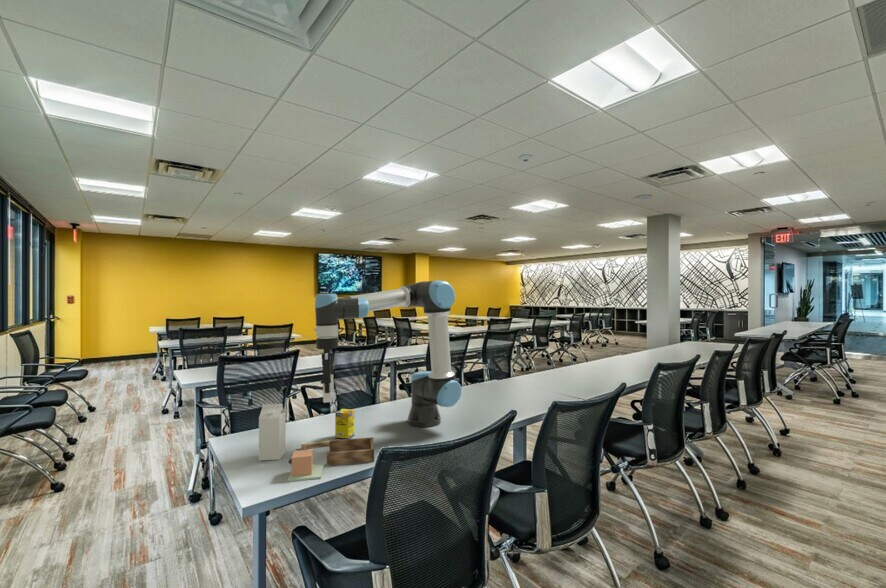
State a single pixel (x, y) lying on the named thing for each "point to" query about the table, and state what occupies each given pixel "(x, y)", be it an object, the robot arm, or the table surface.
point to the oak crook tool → (315, 445)
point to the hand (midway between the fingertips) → (328, 397)
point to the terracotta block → (302, 462)
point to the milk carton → (271, 432)
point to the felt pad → (315, 475)
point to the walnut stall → (346, 453)
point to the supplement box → (344, 424)
